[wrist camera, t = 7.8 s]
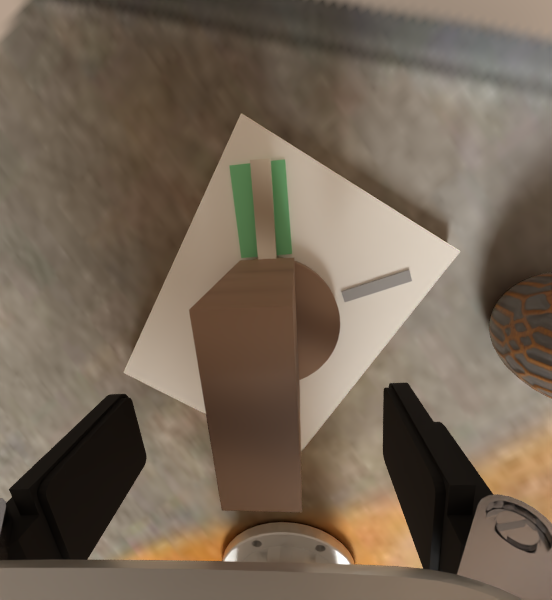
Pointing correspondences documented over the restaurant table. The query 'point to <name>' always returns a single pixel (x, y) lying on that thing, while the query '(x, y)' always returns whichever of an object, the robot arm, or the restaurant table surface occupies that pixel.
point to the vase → (526, 331)
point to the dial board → (303, 248)
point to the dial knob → (261, 364)
